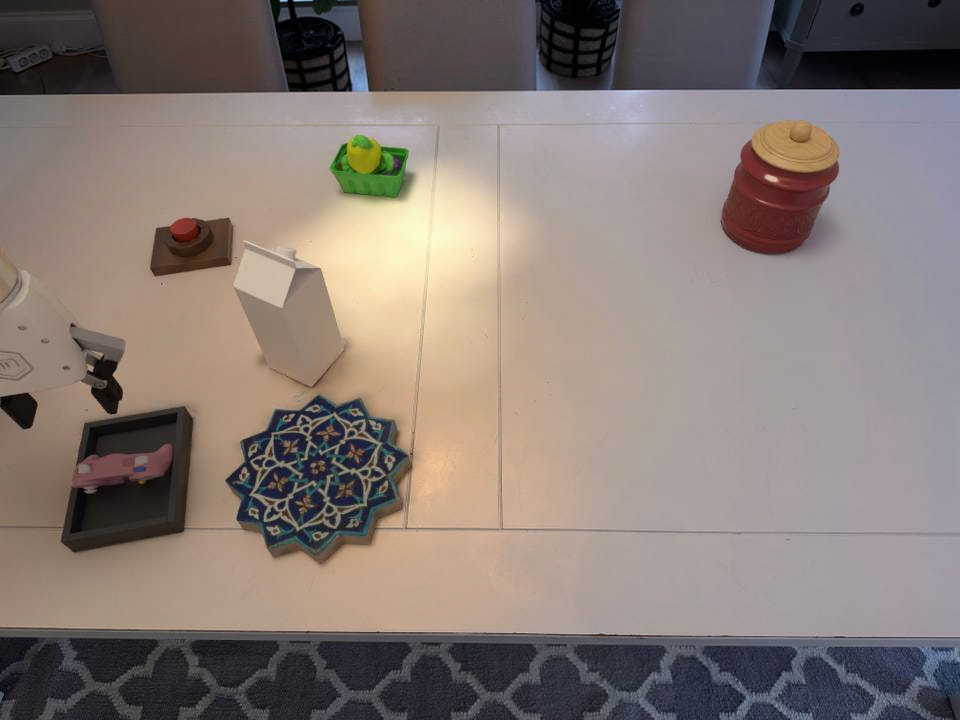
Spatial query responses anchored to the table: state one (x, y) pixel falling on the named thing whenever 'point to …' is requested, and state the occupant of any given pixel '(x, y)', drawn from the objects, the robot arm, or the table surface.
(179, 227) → the power button
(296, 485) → the decorative tile
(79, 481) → the pink toy car
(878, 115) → the table surface
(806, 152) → the kitchen canister
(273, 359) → the milk carton
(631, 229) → the table surface
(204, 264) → the switch block
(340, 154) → the fruit basket
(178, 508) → the dock
